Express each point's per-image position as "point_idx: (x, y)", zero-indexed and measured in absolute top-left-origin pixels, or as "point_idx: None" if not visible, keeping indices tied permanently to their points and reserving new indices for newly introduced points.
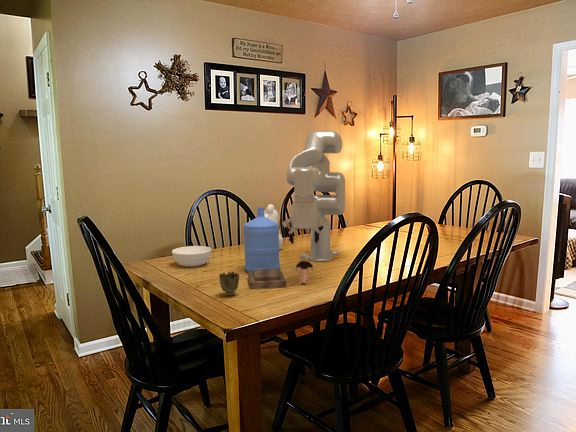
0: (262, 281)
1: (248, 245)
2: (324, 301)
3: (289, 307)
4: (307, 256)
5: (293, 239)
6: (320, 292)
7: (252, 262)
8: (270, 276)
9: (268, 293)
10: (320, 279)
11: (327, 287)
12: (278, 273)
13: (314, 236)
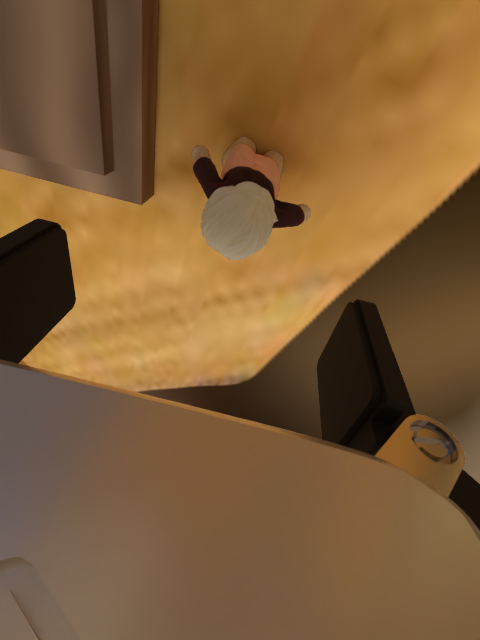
0: (18, 157)
1: None
2: (239, 376)
3: (133, 371)
4: (252, 253)
5: (47, 331)
6: (268, 310)
7: None
8: (47, 153)
9: (73, 242)
10: (390, 120)
11: (329, 271)
12: (94, 97)
13: (359, 346)
